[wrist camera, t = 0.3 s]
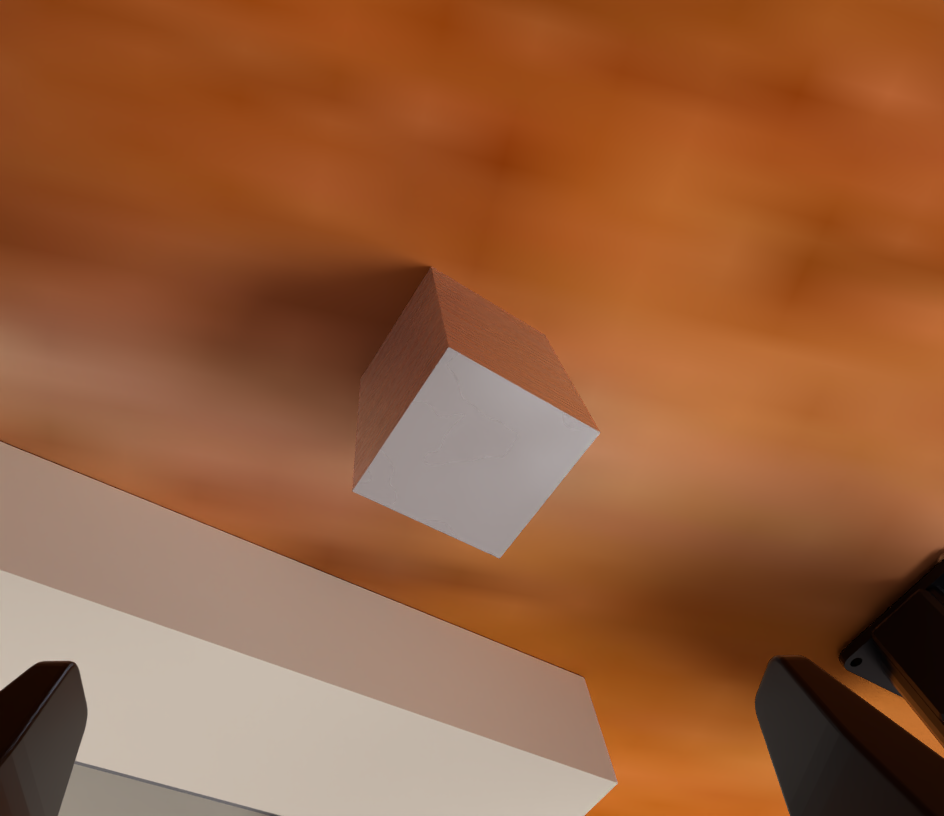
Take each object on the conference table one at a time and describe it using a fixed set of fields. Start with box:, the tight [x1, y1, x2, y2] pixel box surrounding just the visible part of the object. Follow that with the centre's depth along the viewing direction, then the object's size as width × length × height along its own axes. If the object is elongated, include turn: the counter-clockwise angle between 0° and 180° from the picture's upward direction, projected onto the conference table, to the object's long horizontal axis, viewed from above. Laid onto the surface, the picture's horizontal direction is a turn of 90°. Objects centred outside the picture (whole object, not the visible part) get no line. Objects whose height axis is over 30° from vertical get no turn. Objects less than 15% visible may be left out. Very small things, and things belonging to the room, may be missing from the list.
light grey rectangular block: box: [352, 266, 600, 558], centre depth 18 cm, size 4×4×6 cm
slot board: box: [0, 442, 618, 816], centre depth 24 cm, size 24×18×4 cm
